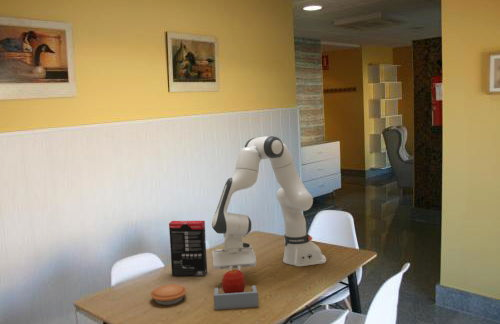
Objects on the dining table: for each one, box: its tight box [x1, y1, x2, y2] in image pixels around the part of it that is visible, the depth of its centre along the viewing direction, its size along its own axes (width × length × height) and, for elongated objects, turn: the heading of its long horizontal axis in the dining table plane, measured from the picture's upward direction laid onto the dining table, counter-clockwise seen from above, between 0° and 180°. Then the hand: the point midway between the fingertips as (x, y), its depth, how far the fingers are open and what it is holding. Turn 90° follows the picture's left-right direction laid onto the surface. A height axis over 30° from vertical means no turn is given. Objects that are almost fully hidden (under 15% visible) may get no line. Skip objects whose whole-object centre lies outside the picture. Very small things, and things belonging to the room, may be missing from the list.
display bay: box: [213, 285, 259, 311], centre depth 198 cm, size 18×16×6 cm
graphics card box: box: [168, 220, 208, 277], centre depth 230 cm, size 17×7×27 cm, turn 84°
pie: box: [150, 283, 188, 306], centre depth 202 cm, size 15×16×5 cm
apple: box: [221, 268, 246, 294], centre depth 198 cm, size 10×10×14 cm
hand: (235, 276), depth 211 cm, fingers closed
